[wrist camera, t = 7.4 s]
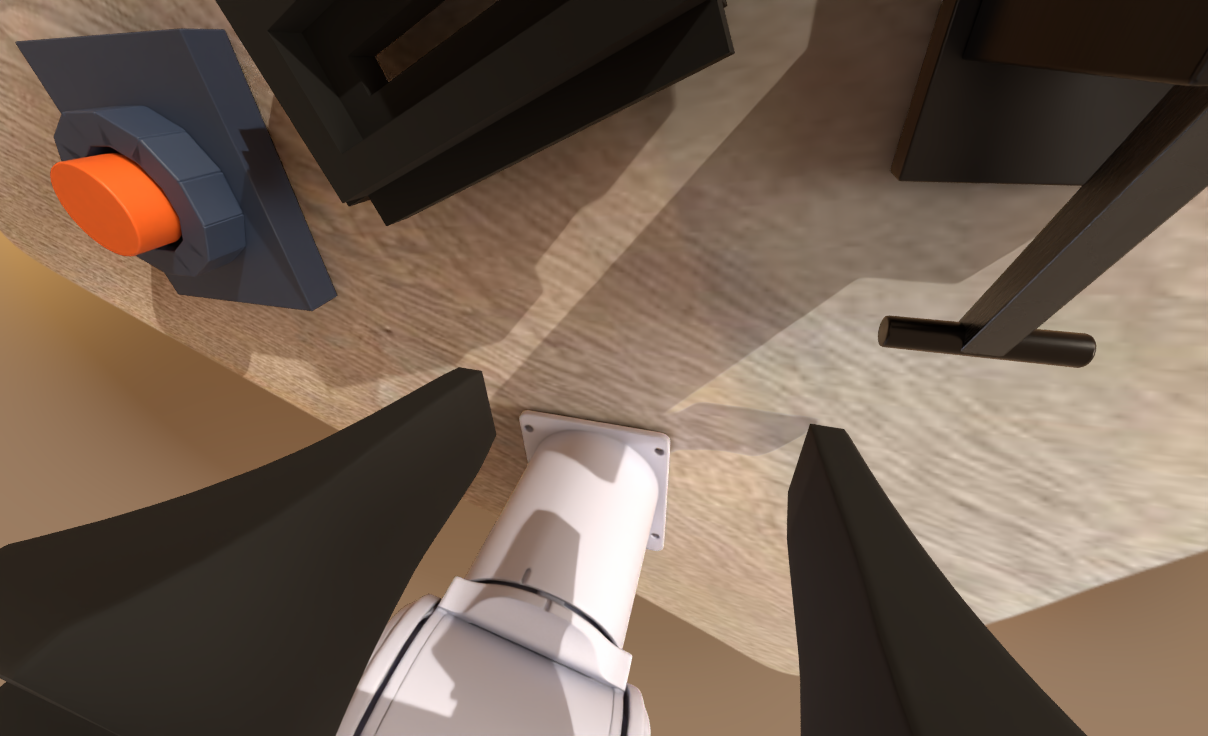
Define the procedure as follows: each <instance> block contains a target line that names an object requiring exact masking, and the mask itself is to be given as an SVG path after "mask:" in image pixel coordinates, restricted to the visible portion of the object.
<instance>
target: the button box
mask: <svg viewBox="0 0 1208 736" xmlns="http://www.w3.org/2000/svg"><path fill="white" fill-rule="evenodd" d="M15 43H16V45H17V46H18V48H19V49H20V51H21V52H22V54H23V55H24V57H25V58H26V60H27V62H28V63H29V65H30V66H31V68H32V69H33V71H34V72H35V74H36V75H37V77H38V79H39V80H40V82H41V83H42V85H43V86H44V88H45V89H46V91H47V92H48V94H49V95H50V97H51V99H52V100H53V102H54V103H55V105H56V106H57V108H58V109H59V111H60V112H61V117H60V120H59V123H58V126H57V128H56V131H55V134H54V139H55V143H56V146H57V149H58V152H59V155H60V158H61V161H67V160H73V159H79V158H84V157H90V156H96V155H101V154H107V153H118V154H122V155H125V156H126V157H128V158H130V159H131V160H133V161H135V162H136V163H138V164H139V165H140V166H141V167H142V168H143V169H144V170H145V171H146V173H147V174H148V175H149V176H150V177H151V178H152V179H153V180H154V181H155V182H156V183H157V184H158V185H159V186H160V187H161V188H162V189H163V191H164V192H165V194H166V196H167V198H168V199H169V201H170V203H171V204H172V206H173V208H174V210H175V211H176V213H177V215H178V216H179V220H180V226H181V232H182V236H181V237H180V239H179V240H177V241H176V242H173V243H170V244H167V245H164V246H161V247H159V248H156V249H153V250H150V251H147V252H144V253H141V254H138V255H135V256H137V257H139V258H140V259H142V260H144V261H146V262H147V263H149V264H151V265H152V266H154V267H156V268H158V269H159V270H161V271H163V272H164V273H165V274H166V276H167V278H168V279H169V281H170V282H171V284H172V285H173V287H174V288H175V290H176V291H177V293H178V294H179V295H187V296H195V297H203V298H211V299H219V300H227V301H235V302H243V303H251V304H259V305H267V306H275V307H283V308H291V309H299V310H307V311H313V310H315V309H316V308H318V307H320V306H321V305H323V304H325V303H326V302H328V301H330V300H331V299H333V298H335V297H336V296H337V294H336V292H335V289H334V287H333V284H332V282H331V280H330V277H329V275H328V273H327V270H326V268H325V266H324V263H323V261H322V258H321V256H320V254H319V251H318V249H317V247H316V244H315V242H314V240H313V237H312V235H311V233H310V230H309V228H308V225H307V223H306V221H305V218H304V216H303V214H302V211H301V209H300V207H299V204H298V202H297V199H296V197H295V195H294V192H293V190H292V188H291V185H290V183H289V181H288V178H287V176H286V174H285V171H284V169H283V166H282V164H281V162H280V159H279V157H278V155H277V152H276V150H275V148H274V145H273V143H272V140H271V138H270V136H269V133H268V131H267V129H266V126H265V124H264V122H263V119H262V117H261V115H260V112H259V110H258V107H257V105H256V103H255V100H254V98H253V96H252V93H251V91H250V89H249V86H248V84H247V81H246V79H245V77H244V74H243V72H242V70H241V67H240V65H239V63H238V60H237V58H236V55H235V53H234V51H233V48H232V46H231V44H230V41H229V39H228V37H227V34H226V32H225V30H223V29H168V30H156V31H143V32H130V33H117V34H105V35H92V36H79V37H66V38H53V39H41V40H28V41H16V42H15Z"/></svg>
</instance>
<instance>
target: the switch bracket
mask: <svg viewBox="0 0 1208 736" xmlns="http://www.w3.org/2000/svg"><path fill="white" fill-rule="evenodd" d="M1174 85H1183V86H1192V87H1194V86H1208V0H943V1H942V4H941V7H940V10H939V14H938V17H937V20H936V23H935V27H934V30H933V33H932V36H931V40H930V43H929V46H928V49H927V53H926V56H925V59H924V62H923V66H922V69H921V72H920V75H919V79H918V82H917V85H916V88H915V92H914V95H913V98H912V101H911V105H910V108H909V111H908V114H907V118H906V121H905V124H904V127H903V131H902V134H901V137H900V140H899V144H898V147H897V150H896V153H895V157H894V160H893V163H892V166H891V170H890V171H891V173H892V174H893V175H894V176H895V177H896V178H897V179H898V180H899V181H914V182H954V183H995V184H1035V185H1076V186H1083V185H1084V184H1085V183H1086V181H1087V180H1088V179H1089V178H1090V177H1091V176H1092V175H1093V174H1094V173H1095V172H1096V171H1097V169H1098V168H1099V167H1100V166H1101V165H1102V164H1103V163H1104V162H1105V161H1106V160H1107V158H1108V157H1109V156H1110V155H1111V154H1112V153H1113V152H1114V151H1115V150H1116V149H1117V148H1118V146H1119V145H1120V144H1121V143H1122V142H1123V141H1124V140H1125V139H1126V138H1127V137H1128V135H1129V134H1130V133H1131V132H1132V131H1133V130H1134V129H1135V128H1136V127H1137V126H1138V124H1139V123H1140V122H1141V121H1142V120H1143V119H1144V118H1145V117H1146V116H1147V115H1148V114H1149V112H1150V111H1151V110H1152V109H1153V108H1154V107H1155V106H1156V105H1157V104H1158V103H1159V101H1160V100H1161V99H1162V98H1163V97H1164V96H1165V95H1166V94H1167V93H1168V92H1169V90H1170V89H1171V88H1172V87H1173V86H1174Z"/></svg>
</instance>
